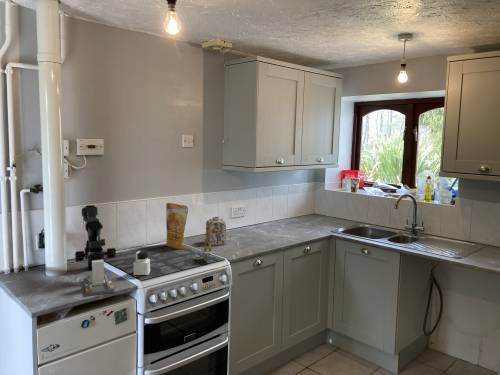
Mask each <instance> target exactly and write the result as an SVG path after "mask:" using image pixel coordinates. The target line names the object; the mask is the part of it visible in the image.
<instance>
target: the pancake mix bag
mask: <svg viewBox="0 0 500 375" xmlns="http://www.w3.org/2000/svg"><path fill="white" fill-rule="evenodd" d="M165 205H166V206H165V209H166V210H165V211H166V212H165V213H166V216H165V217H166V221H165V224H166V226H165V227H166V243H165V244H167V245H166V246H167V247H169V248H173V249H176V250H183V249H184V248H183V240H184V234H185V228H186V223H187V219H188V217H187V216H188V213H189V206H187V205H183V204H177V203H171V202H167V203H165Z"/></svg>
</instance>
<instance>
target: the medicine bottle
mask: <svg viewBox="0 0 500 375" xmlns="http://www.w3.org/2000/svg"><path fill="white" fill-rule="evenodd" d="M132 264H133V276H134V275H148V276H149V274H150V272H151V259H150V258H149V253H148V251H146V250H139V251H136V252H135V261H133V263H132Z"/></svg>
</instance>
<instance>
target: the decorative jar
mask: <svg viewBox="0 0 500 375" xmlns="http://www.w3.org/2000/svg"><path fill="white" fill-rule="evenodd" d="M209 237H210V246H224V245H227V225H226V222H225V220H224V218H223V219H222V218H220V217H219V216H213V217H212V218H209V219H208V220H207V221H206V222H205V239H206V244H208V245H209Z"/></svg>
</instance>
